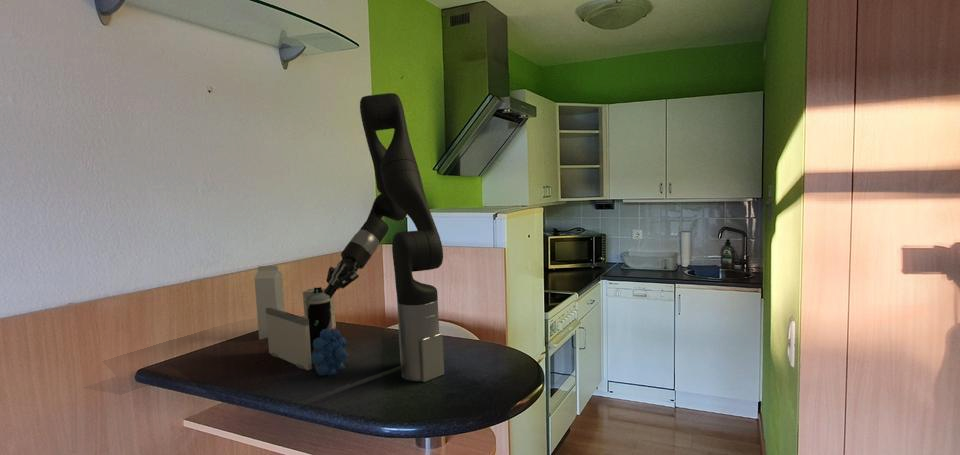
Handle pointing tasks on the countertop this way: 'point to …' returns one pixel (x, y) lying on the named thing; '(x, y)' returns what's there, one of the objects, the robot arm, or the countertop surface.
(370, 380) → the countertop surface
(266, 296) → the milk
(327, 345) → the grapes
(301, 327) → the cream thin rectangular board
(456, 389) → the countertop surface
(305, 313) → the supplement box
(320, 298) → the spray can
